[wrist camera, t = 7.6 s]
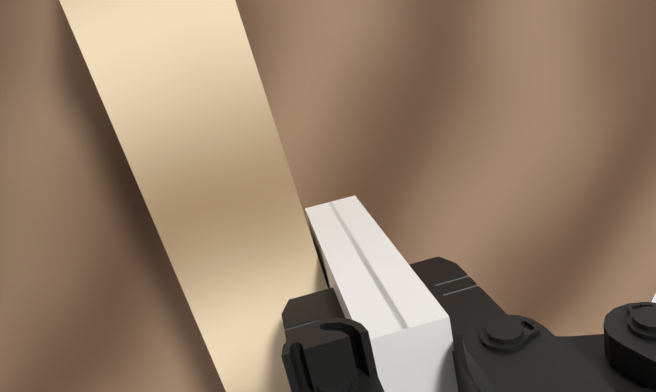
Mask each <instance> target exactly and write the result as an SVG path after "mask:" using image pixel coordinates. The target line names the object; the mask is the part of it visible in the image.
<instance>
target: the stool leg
mask: <svg viewBox="0 0 656 392" xmlns="http://www.w3.org/2000/svg"><path fill="white" fill-rule="evenodd" d="M59 1H60V3H61V5H62V8H63V10H64V12H65V15H66V17H67V20H68V22H69V24H70V27H71V29H72V31H73V34H74V36H75V38H76V41H77V43H78V45H79V48H80V50H81V52H82V55H83V57H84V59H85V62H86V64H87V67H88V69H89V71H90V74H91V76H92V78H93V81H94V83H95V85H96V88H97V90H98V92H99V95H100V97H101V99H102V102H103V104H104V106H105V109H106V111H107V114H108V116H109V118H110V121H111V123H112V125H113V128H114V130H115V132H116V135H117V137H118V139H119V142H120V144H121V146H122V149H123V151H124V153H125V156H126V158H127V160H128V163H129V165H130V168H131V170H132V172H133V175H134V177H135V179H136V182H137V184H138V186H139V189H140V191H141V193H142V196H143V198H144V200H145V203H146V205H147V207H148V210H149V212H150V215H151V217H152V219H153V222H154V224H155V226H156V229H157V231H158V233H159V236H160V238H161V240H162V243H163V245H164V247H165V250H166V252H167V254H168V257H169V259H170V262H171V264H172V266H173V269H174V271H175V273H176V276H177V278H178V280H179V283H180V285H181V287H182V290H183V292H184V294H185V297H186V299H187V301H188V304H189V306H190V309H191V311H192V313H193V316H194V318H195V320H196V323H197V325H198V327H199V330H200V332H201V334H202V337H203V339H204V341H205V344H206V346H207V348H208V351H209V353H210V355H211V358H212V360H213V363H214V365H215V367H216V370H217V372H218V374H219V377H220V379H221V381H222V384H223V386H224V388H225V391H226V392H291V389H290V385H289V382H288V378H287V375H286V371H285V367H284V364H283V360H282V357H281V355H282V349H283V345H284V344H285V342H286V337H285V330H284V326H283V320H282V315H281V314H282V312H283V310H284V308H285V306H286V304H287V302H288V300H289V299H293V298H297V297H300V296H304V295H307V294H311V293H315V292H318V291H322V290H325V289H328V287H327V284H326V281H325V277H324V274H323V271H322V268H321V265H320V262H319V259H318V256H317V253H316V249H315V246H314V243H313V240H312V237H311V234H310V231H309V228H308V225H307V222H306V218H305V215H304V212H303V209H302V206H301V203H300V200H299V197H298V194H297V191H296V187H295V184H294V181H293V178H292V175H291V172H290V169H289V166H288V163H287V159H286V156H285V153H284V150H283V147H282V144H281V141H280V138H279V135H278V132H277V128H276V125H275V122H274V119H273V116H272V113H271V110H270V107H269V104H268V101H267V97H266V94H265V91H264V88H263V85H262V82H261V79H260V76H259V73H258V69H257V66H256V63H255V60H254V57H253V54H252V51H251V48H250V45H249V42H248V38H247V35H246V32H245V29H244V26H243V23H242V20H241V17H240V14H239V11H238V7H237V4H236V1H235V0H59Z"/></svg>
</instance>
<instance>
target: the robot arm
mask: <svg viewBox="0 0 656 392" xmlns="http://www.w3.org/2000/svg"><path fill="white" fill-rule="evenodd" d="M305 211H306V215H307V220H308V224H309V228H310V232H311V236H312V240H313V243H314V246H315V249H316V253H317V256H318V259H319V262H320V265H321V268H322V271H323V274H324V277H325V281H326V284H327V287H328V289H325V290H322V291H318V292H315V293H311V294H307V295H304V296H300V297H297V298H293V299H289V300H288V302H287V304H286V306H285V308H284V310H283V312H282V314H281V315H282V320H283V326H284V330H285V337H286V342H285V344H284V345H283V349H282V355H281V357H282V360H283V364H284V367H285V371H286V375H287V378H288V382H289V385H290V389H291V392H656V303H652V302H639V303H638V302H636V303H628V304H625V305H622V306H619V307H616V308H614V309H613V310H611V311H610V312H609V313H608V314H607V315H605V320H604V324H603V328H604V334H595V335H582V336H554V335H553V334H552V333H551V332H550V331H549V330H548V329H547V328H546V327H545V326H543V325H542V324H540V323H538V322H537V321H535V320H533V319H530V318H527V317H523V316H520V315H507V314H506V313H505V312H504V311H503V310H502V309H501V308H500V307H499V306H498V305H497V303H496V302H495V301H494V300H493V299H492V298H491V297H490V296H489V295H488V294H487V293H486V292H485V291H484V290H483V289H482V288H481V287H480V286H477V283H476V282H475V281H474V280H473V279H472V278H471V277H468V274H467V273H466V272H465V271H464V270H463V269H462V268H461V267H460V266H459V265H458V264H457V263H454V262H452V261H449V260H447V259H444V258H441V257H439V256H438V257H434V258H431V259H427V260H423V261H420V262H416V263H413V264H408V263H407V262H406V260H405V259H404V258H403V256H402V255H401V254H400V253H399V251H398V250H397V249H396V247H395V246H394V245H393V244H392V242H391V241H390V240H389V238H388V237H387V236H386V235H385V233H384V232H383V231H382V229H381V228H380V227H379V226H378V224H377V223H376V222H375V220H374V219H373V218H372V217H371V215H370V214H369V213H368V211H367V210H366V209H365V208H364V206H363V205H362V204H361V203H360V201H359V200H358V199H357V197H356V196H351V197H347V198H343V199H339V200H335V201H332V202H328V203H324V204H320V205H316V206H312V207H309V208H305Z"/></svg>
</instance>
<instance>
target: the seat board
mask: <svg viewBox="0 0 656 392" xmlns="http://www.w3.org/2000/svg"><path fill="white" fill-rule="evenodd" d="M235 1H236V4H237V7H238V11H239V14H240V17H241V20H242V23H243V26H244V29H245V32H246V35H247V38H248V42H249V45H250V48H251V51H252V54H253V57H254V60H255V63H256V66H257V69H258V73H259V76H260V79H261V82H262V85H263V88H264V91H265V94H266V97H267V101H268V104H269V107H270V110H271V113H272V116H273V119H274V122H275V125H276V128H277V132H278V135H279V138H280V141H281V144H282V147H283V150H284V153H285V156H286V159H287V163H288V166H289V169H290V172H291V175H292V178H293V181H294V184H295V187H296V191H297V194H298V197H299V200H300V203H301V206H302V209H303V212H304V215H305V218H306V222H307V225H308V228H309V224H308V220H307V215H306V211H305V208H309V207H312V206H316V205H320V204H324V203H328V202H332V201H335V200H339V199H343V198H347V197H351V196H356V197H357V199H358V200H359V201H360V203H361V204H362V205H363V206H364V208H365V209H366V210H367V211H368V213H369V214H370V215H371V217H372V218H373V219H374V220H375V222H376V223H377V224H378V226H379V227H380V228H381V229H382V231H383V232H384V233H385V235H386V236H387V237H388V238H389V240H390V241H391V242H392V244H393V245H394V246H395V247H396V249H397V250H398V251H399V253H400V254H401V255H402V256H403V258H404V259H405V260H406V262H407V263H408V264H413V263H416V262H420V261H423V260H427V259H431V258H434V257H438V256H439V257H441V258H444V259H447V260H449V261H452V262H454V263H457V264H458V265H459V266H460V267H461V268H462V269H463V270H464V271H465V272H466V273H467V274H468V277H471V278H472V279H473V280H474V281H475V282H476V283H477V286H480V287H481V288H482V289H483V290H484V291H485V292H486V293H487V294H488V295H489V296H490V297H491V298H492V299H493V300H494V301H495V302H496V303H497V305H498V306H499V307H500V308H501V309H502V310H503V311H504V312H505V313H506V314H507V315H520V316H523V317H527V318H530V319H533V320H535V321H537V322H538V323H540V324H542V325H543V326H545V327H546V328H547V329H548V330H549V331H550V332H551V333H552V334H553V335H554V336H582V335H595V334H604V328H603V324H604V320H605V315H607V314H608V313H609V312H610V311H611V310H613V309H614V308H616V307H619V306H622V305H625V304H628V303H636V302H638V303H639V302H651V301H652V299H653V297H654V295H655V293H656V0H235ZM309 231H310V228H309ZM310 234H311V232H310ZM311 237H312V236H311ZM0 392H226V391H225V388H224V386H223V384H222V381H221V379H220V377H219V374H218V372H217V370H216V367H215V365H214V363H213V360H212V358H211V355H210V353H209V351H208V348H207V346H206V344H205V341H204V339H203V337H202V334H201V332H200V330H199V327H198V325H197V323H196V320H195V318H194V316H193V313H192V311H191V309H190V306H189V304H188V301H187V299H186V297H185V294H184V292H183V290H182V287H181V285H180V283H179V280H178V278H177V276H176V273H175V271H174V269H173V266H172V264H171V262H170V259H169V257H168V254H167V252H166V250H165V247H164V245H163V243H162V240H161V238H160V236H159V233H158V231H157V229H156V226H155V224H154V222H153V219H152V217H151V215H150V212H149V210H148V207H147V205H146V203H145V200H144V198H143V196H142V193H141V191H140V189H139V186H138V184H137V182H136V179H135V177H134V175H133V172H132V170H131V168H130V165H129V163H128V160H127V158H126V156H125V153H124V151H123V149H122V146H121V144H120V142H119V139H118V137H117V135H116V132H115V130H114V128H113V125H112V123H111V121H110V118H109V116H108V114H107V111H106V109H105V106H104V104H103V102H102V99H101V97H100V95H99V92H98V90H97V88H96V85H95V83H94V81H93V78H92V76H91V74H90V71H89V69H88V67H87V64H86V62H85V59H84V57H83V55H82V52H81V50H80V48H79V45H78V43H77V41H76V38H75V36H74V34H73V31H72V29H71V27H70V24H69V22H68V20H67V17H66V15H65V12H64V10H63V8H62V5H61V3H60V1H59V0H0Z"/></svg>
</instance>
